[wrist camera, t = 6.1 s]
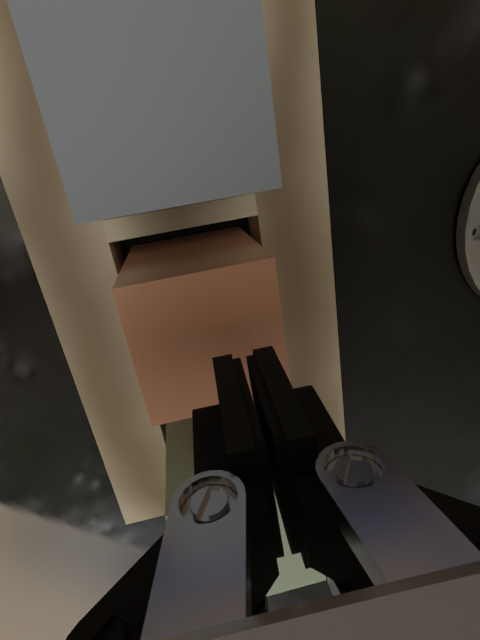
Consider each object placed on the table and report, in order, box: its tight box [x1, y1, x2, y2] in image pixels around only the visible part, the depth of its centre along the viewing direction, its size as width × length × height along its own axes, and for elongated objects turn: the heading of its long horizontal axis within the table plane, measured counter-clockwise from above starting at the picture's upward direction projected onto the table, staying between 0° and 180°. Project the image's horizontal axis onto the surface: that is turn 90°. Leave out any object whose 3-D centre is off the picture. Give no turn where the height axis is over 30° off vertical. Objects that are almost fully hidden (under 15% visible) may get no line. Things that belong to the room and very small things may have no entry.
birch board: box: [0, 0, 346, 525], centre depth 21 cm, size 14×26×3 cm, turn 9°
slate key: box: [6, 0, 282, 225], centre depth 13 cm, size 6×6×8 cm
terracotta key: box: [112, 226, 290, 427], centre depth 18 cm, size 6×6×8 cm
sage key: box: [165, 418, 326, 597], centre depth 19 cm, size 6×6×8 cm
